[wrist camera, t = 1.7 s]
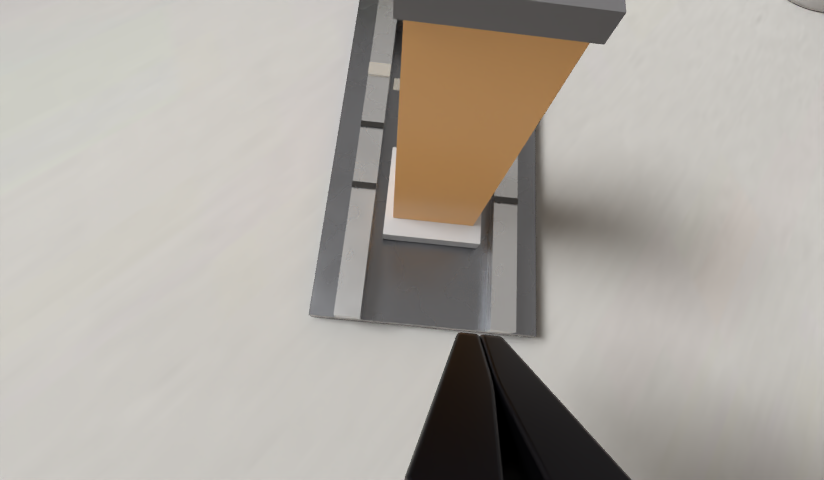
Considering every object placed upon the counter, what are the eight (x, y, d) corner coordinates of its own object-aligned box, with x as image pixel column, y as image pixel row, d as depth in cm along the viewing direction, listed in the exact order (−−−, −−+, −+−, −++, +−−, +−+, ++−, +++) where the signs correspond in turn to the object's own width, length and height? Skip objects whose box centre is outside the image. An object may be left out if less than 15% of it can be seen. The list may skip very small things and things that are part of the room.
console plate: (530, 337, 20) (556, 332, 17) (311, 316, 20) (298, 307, 17) (530, 23, 26) (549, -22, 23) (361, 2, 26) (358, -46, 23)
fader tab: (476, 248, 21) (639, 43, 7) (382, 239, 20) (378, 12, 7) (480, 164, 22) (621, -134, 9) (392, 154, 22) (403, -163, 9)
